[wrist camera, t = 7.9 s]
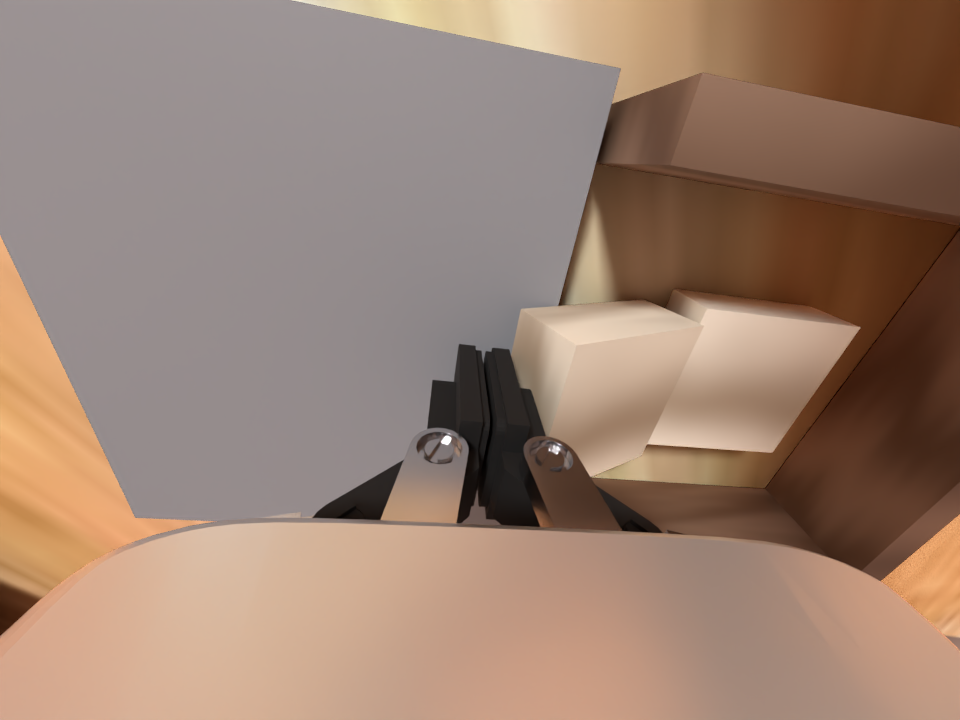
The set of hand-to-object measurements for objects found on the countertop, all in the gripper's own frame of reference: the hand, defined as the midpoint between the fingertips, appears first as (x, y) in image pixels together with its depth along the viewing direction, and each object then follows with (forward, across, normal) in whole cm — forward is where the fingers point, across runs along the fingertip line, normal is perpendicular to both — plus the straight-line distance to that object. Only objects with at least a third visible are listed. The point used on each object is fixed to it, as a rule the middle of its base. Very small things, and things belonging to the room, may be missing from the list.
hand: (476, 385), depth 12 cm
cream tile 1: (+2, -4, 0) cm, 4 cm away
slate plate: (+3, +6, 0) cm, 6 cm away
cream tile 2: (+3, -10, 0) cm, 11 cm away
